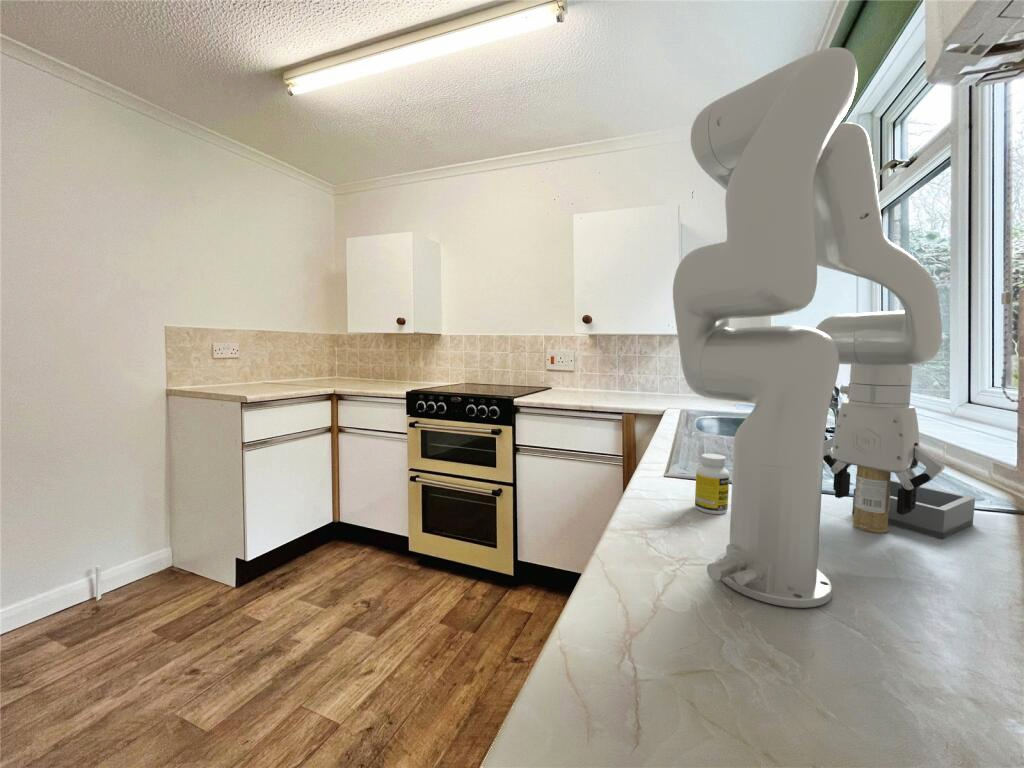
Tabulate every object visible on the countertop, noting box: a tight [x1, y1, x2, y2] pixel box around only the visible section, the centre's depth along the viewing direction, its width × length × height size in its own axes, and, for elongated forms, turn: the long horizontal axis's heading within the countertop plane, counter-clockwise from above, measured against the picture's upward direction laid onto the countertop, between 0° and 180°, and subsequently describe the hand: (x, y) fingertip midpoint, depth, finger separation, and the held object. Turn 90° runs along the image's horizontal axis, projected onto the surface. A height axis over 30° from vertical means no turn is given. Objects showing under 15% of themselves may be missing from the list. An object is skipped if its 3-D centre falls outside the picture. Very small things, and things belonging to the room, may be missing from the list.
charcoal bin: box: [851, 479, 976, 540], centre depth 77 cm, size 12×12×4 cm
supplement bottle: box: [694, 453, 730, 515], centre depth 81 cm, size 5×5×10 cm
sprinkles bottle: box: [852, 466, 892, 534], centre depth 72 cm, size 5×5×13 cm
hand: (871, 503), depth 73 cm, fingers open, 7 cm apart
